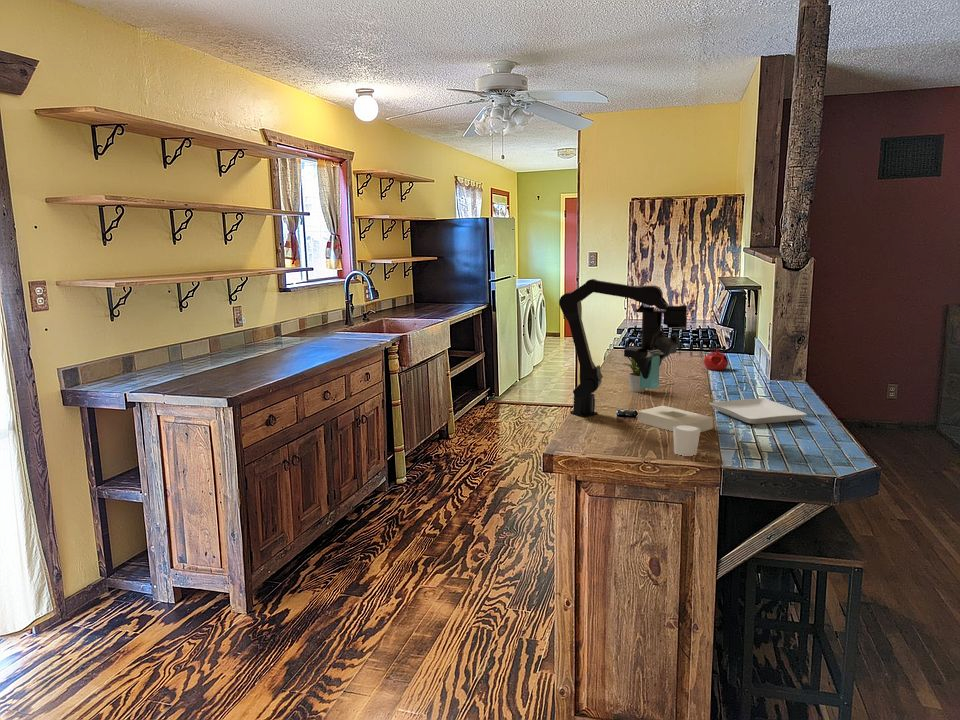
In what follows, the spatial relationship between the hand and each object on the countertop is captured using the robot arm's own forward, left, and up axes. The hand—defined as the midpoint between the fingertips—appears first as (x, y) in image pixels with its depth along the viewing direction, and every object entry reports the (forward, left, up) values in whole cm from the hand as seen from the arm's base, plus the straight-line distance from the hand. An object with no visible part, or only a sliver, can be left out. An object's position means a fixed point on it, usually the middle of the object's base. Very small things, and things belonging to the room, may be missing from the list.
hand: (649, 377), depth 204 cm
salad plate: (+31, -18, -14) cm, 39 cm away
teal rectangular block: (0, 0, -3) cm, 3 cm away
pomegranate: (+90, +35, -14) cm, 97 cm away
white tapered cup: (-19, -27, -14) cm, 36 cm away
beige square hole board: (+1, -9, -13) cm, 16 cm away
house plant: (+29, +27, -14) cm, 42 cm away
